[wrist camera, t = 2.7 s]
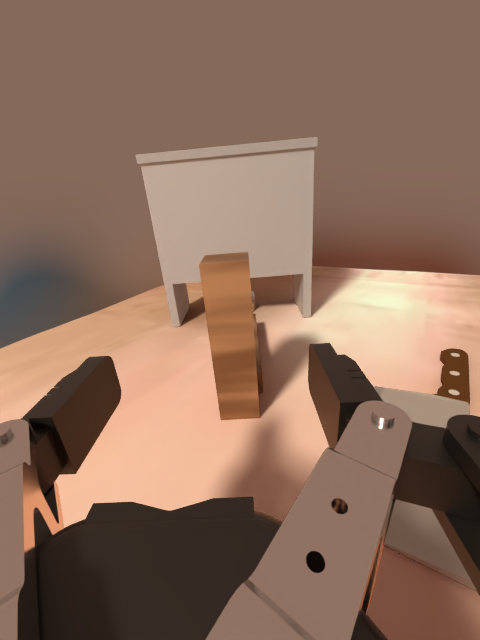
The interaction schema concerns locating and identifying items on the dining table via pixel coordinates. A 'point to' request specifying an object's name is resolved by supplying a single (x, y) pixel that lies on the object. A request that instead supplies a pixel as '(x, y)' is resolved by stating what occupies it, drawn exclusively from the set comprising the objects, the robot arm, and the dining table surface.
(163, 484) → the dining table surface
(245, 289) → the upright wooden plank
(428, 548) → the kitchen cleaver
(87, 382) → the robot arm
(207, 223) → the cabinet
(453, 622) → the dining table surface
